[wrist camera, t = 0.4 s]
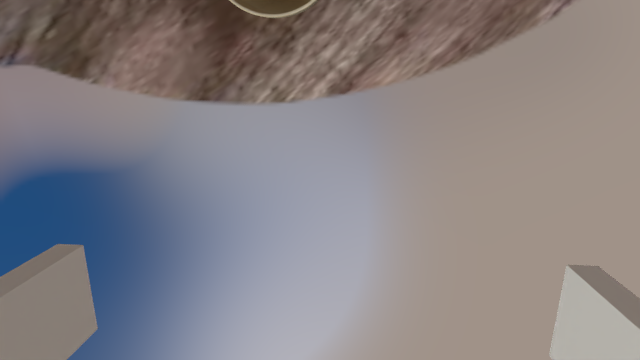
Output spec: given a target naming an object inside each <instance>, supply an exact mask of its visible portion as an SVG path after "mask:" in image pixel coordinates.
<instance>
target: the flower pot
mask: <svg viewBox="0 0 640 360" xmlns="http://www.w3.org/2000/svg"><path fill="white" fill-rule="evenodd" d="M229 1H231V2H232V3H233V4H234V5H236V6H237V7H239V8H240V9H242V10H244V11H246V12H248V13H251V14H254V15H257V16H262V17H269V18H283V17H289V16H293V15H296V14H298V13H301V12H303V11H305V10H307V9H308V8H310V7H311V6H313V5H314V4H315V3H316V2H317V1H319V0H229Z"/></svg>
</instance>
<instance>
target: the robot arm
mask: <svg viewBox="0 0 640 360" xmlns="http://www.w3.org/2000/svg"><path fill="white" fill-rule="evenodd" d="M96 330H97V323H96V317H95V311H94V306H93V300H92V294H91V288H90V282H89V276H88V271H87V265H86V260H85V254H84V248H83V245H65V244H57V245H55V246H54V247H52V248H50V249H48V250H47V251H45V252H43V253H41V254H40V255H38V256H36V257H34V258H33V259H31V260H29V261H27V262H26V263H24V264H22V265H21V266H19V267H17V268H15V269H13V270H12V271H10V272H8V273H6V274H5V275H3V276H1V277H0V360H67V359H68V358H69V357H70V356H71V355H72V354H73V353H74V352H75V351H76V350H77V349H78V348H79V347H80V346H81V345H82V344H83V343H84V342H85V341H86V340H87V339H88V338H89V337H90V336H91V335H92V334H93V333H94V332H95V331H96ZM550 357H551V358H552V360H640V298H638V297H637V296H636V295H635V294H633V293H632V292H631V291H629V290H628V289H627V288H625V287H624V286H623V285H622V284H620V283H619V282H618V281H616V280H615V279H614V278H612V277H611V276H610V275H609V274H607V273H606V272H605V271H604V270H602V269H601V268H600V267H598V266H583V265H567V266H566V271H565V276H564V282H563V287H562V292H561V297H560V302H559V307H558V313H557V318H556V323H555V328H554V333H553V339H552V344H551V349H550Z"/></svg>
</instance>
